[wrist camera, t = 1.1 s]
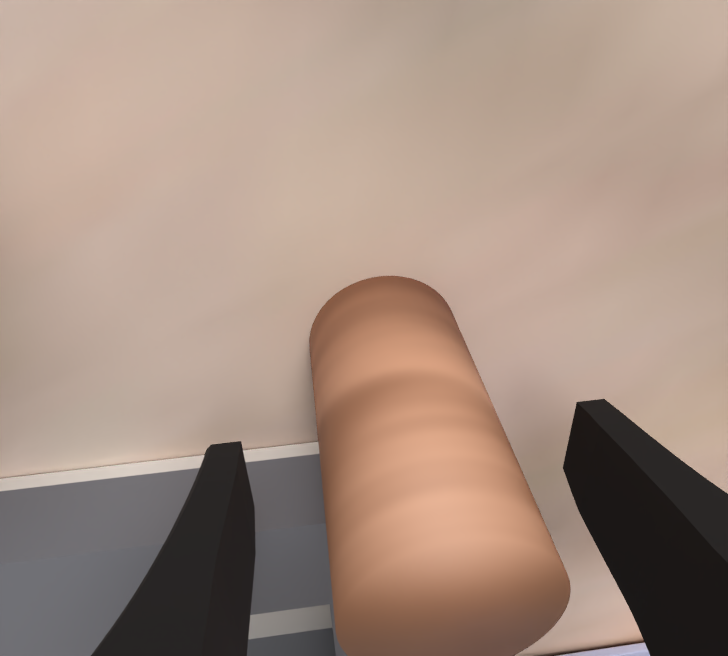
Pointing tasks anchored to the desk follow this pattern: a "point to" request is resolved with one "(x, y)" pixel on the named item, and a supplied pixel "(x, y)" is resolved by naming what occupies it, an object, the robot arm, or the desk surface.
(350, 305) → the peg
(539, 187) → the desk surface
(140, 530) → the board
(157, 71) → the desk surface
